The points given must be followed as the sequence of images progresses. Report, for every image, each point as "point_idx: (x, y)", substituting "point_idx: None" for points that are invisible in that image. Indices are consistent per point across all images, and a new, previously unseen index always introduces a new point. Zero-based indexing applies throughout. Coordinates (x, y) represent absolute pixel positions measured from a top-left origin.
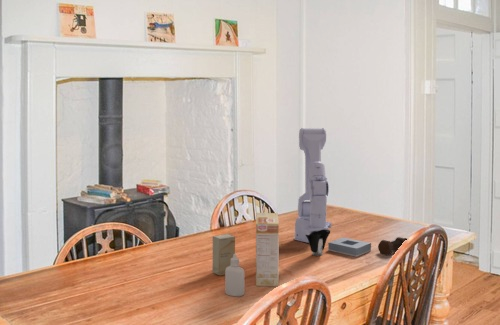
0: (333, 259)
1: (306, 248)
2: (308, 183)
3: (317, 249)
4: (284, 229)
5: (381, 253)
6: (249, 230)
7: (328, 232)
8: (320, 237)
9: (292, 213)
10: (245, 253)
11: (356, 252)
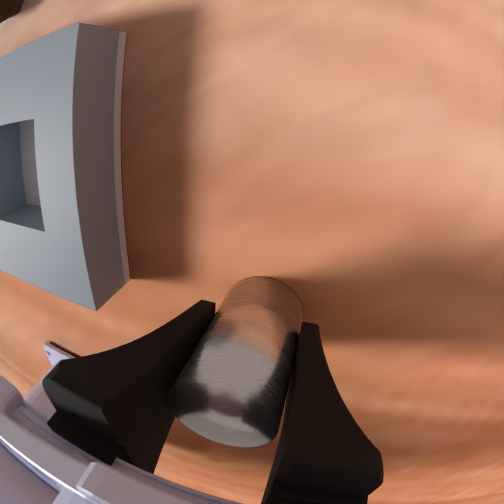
0: (313, 141)
1: None
2: None
3: (302, 334)
4: None
5: (21, 3)
6: None
7: (89, 386)
8: (173, 402)
9: None
10: (401, 493)
11: (103, 30)
